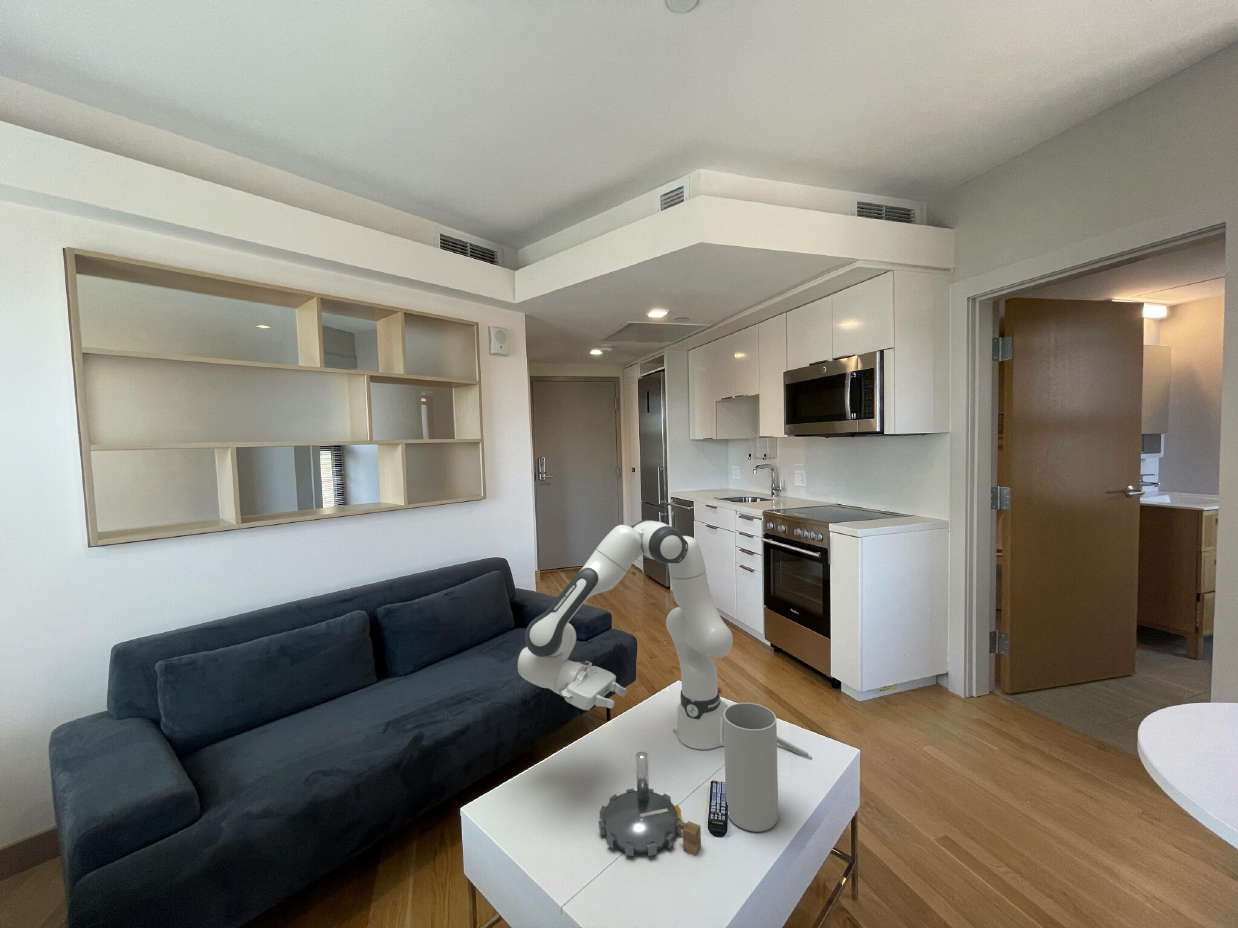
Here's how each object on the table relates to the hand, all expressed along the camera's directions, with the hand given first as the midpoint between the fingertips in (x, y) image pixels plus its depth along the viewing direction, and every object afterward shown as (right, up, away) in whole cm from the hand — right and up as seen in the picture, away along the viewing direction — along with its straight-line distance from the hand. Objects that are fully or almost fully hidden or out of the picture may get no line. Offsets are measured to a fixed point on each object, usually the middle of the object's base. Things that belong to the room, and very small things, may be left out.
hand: (619, 698), depth 134 cm
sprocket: (+5, -27, -9) cm, 29 cm away
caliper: (+47, -24, +21) cm, 57 cm away
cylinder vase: (+33, -26, -6) cm, 42 cm away
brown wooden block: (+16, -27, -16) cm, 35 cm away
